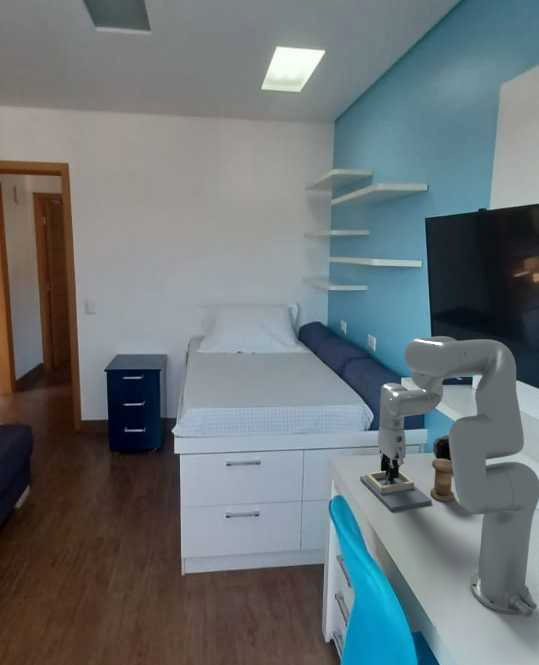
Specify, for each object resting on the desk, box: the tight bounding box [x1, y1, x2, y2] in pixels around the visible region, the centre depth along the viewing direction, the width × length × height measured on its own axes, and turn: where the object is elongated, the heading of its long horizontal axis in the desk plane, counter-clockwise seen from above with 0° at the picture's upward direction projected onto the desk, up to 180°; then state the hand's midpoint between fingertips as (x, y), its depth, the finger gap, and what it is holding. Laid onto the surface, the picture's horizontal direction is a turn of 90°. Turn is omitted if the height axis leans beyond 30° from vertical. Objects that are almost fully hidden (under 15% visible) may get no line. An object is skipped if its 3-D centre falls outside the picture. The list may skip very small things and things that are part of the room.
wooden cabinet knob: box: [430, 458, 455, 503], centre depth 147 cm, size 7×7×11 cm
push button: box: [384, 455, 397, 485], centre depth 153 cm, size 7×5×10 cm
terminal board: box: [359, 469, 432, 512], centre depth 151 cm, size 20×14×3 cm
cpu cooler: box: [432, 434, 451, 461], centre depth 169 cm, size 10×6×10 cm, turn 97°
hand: (389, 473), depth 154 cm, fingers closed on push button, 4 cm apart
